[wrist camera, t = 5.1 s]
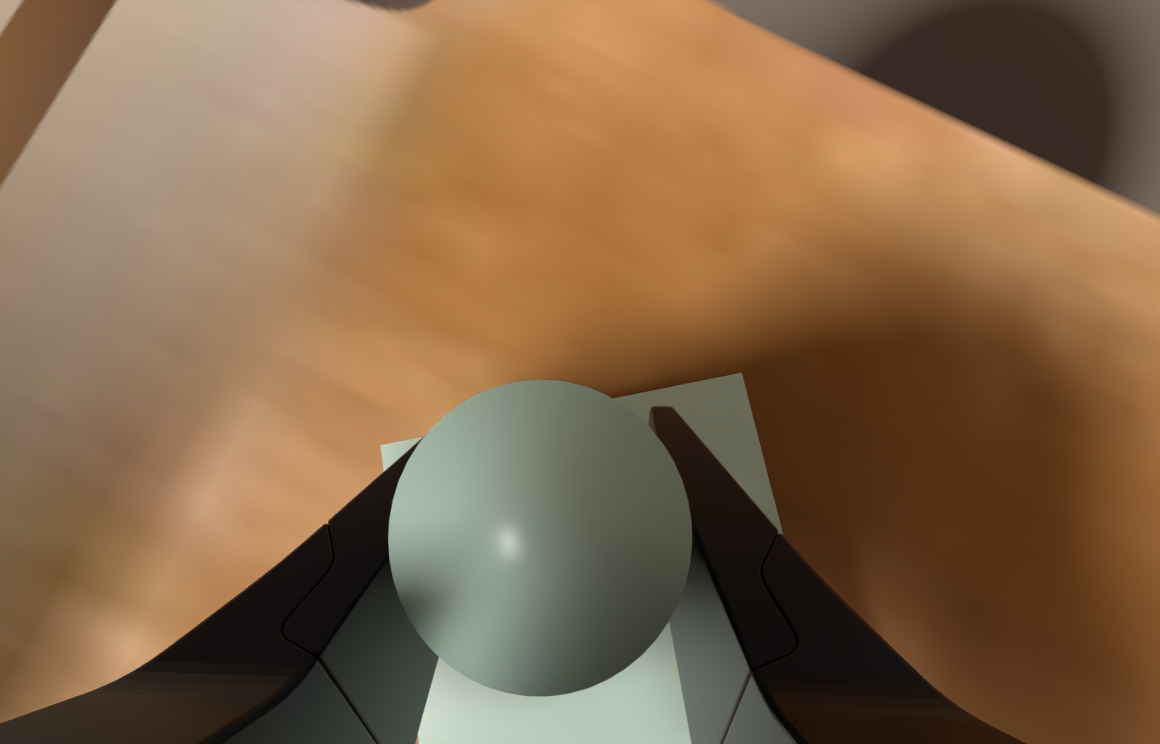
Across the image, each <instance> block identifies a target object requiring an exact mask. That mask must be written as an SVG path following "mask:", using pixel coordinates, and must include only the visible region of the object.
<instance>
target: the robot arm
mask: <svg viewBox="0 0 1160 744" xmlns="http://www.w3.org/2000/svg"><path fill="white" fill-rule="evenodd" d="M648 426H649V427H650V428H651V429H652V431H653V432H654V433H655V434H656V436H657V437H658V438H659V439H660V441H661V442H662V443H663V444H664V446H665V448H666V449H667V451H668V453H669V454H670V456H671V458H672V459H673V461H674V463H675V465H676V467H677V470H678V472H679V474H680V477H681V479H682V481H683V485H684V488H685V491H686V495H687V498H688V503H689V509H690V515H691V522H692V549H691V560H690V566H689V571H688V575H687V579H686V584H685V587H684V589H683V592H682V595H681V597H680V600H679V603H678V605H677V607H676V609H675V611H674V613H673V615H672V617H671V618H670V620H669V622H670V628H671V634H672V639H673V645H674V650H675V656H676V661H677V667H678V672H679V678H680V683H681V689H682V694H683V700H684V705H685V711H686V716H687V722H688V727H689V733H690V738H691V744H1026V743H1024V742H1022V741H1020V740H1018V739H1016V738H1014V737H1012V736H1010V735H1008V734H1006V733H1004V732H1002V731H1000V730H998V729H996V728H994V727H992V726H990V725H988V724H987V723H985V722H983V721H981V720H979V719H977V718H976V717H974V716H973V715H971V714H969V713H968V712H966V711H965V710H963V709H962V708H960V707H959V706H958V705H956V704H955V703H953V702H952V701H951V700H949V699H948V698H947V697H946V696H944V695H943V694H942V693H941V692H939V691H938V690H937V689H936V688H934V687H933V686H932V685H931V684H930V683H929V682H928V681H927V680H926V679H924V678H923V677H922V676H921V675H920V674H919V673H918V672H917V671H916V670H915V669H914V668H913V667H912V666H911V665H910V664H909V663H908V662H907V661H906V660H904V659H903V658H902V657H901V656H900V655H899V654H898V653H897V652H896V651H895V650H894V649H893V648H892V647H891V646H890V645H889V644H888V643H887V642H886V641H885V640H884V639H883V638H882V637H881V636H880V635H879V634H877V633H876V632H875V631H874V630H873V629H872V628H871V627H870V626H869V625H868V624H867V623H866V622H865V621H864V620H863V619H862V618H861V617H860V616H859V615H858V614H857V613H856V612H855V611H854V610H853V609H852V608H851V607H849V606H848V605H847V604H846V603H845V602H844V601H843V600H842V599H841V598H840V597H839V596H838V595H837V594H836V593H835V592H834V591H833V590H832V589H831V587H830V586H829V585H828V584H827V583H826V582H825V581H824V580H823V579H822V578H821V577H820V576H819V575H818V574H817V573H816V572H815V571H814V570H813V569H812V568H811V567H810V565H809V564H808V563H807V562H806V561H805V560H804V559H803V558H802V557H801V555H800V554H799V553H798V552H797V551H796V550H795V549H794V548H793V546H792V545H791V544H790V543H789V542H788V541H787V539H786V538H785V537H784V536H783V535H782V534H781V533H779V534H778V529H777V528H776V527H775V526H774V524H773V523H772V522H771V521H770V520H769V519H768V517H767V516H766V515H765V514H764V513H763V512H762V510H761V509H760V508H759V507H758V506H757V505H756V503H755V502H754V501H753V500H752V499H751V498H750V496H749V495H748V494H747V493H746V492H745V491H744V489H743V488H742V487H741V486H740V485H739V484H738V483H737V481H736V480H735V479H734V478H733V477H732V476H731V474H730V473H729V472H728V471H727V470H726V469H725V467H724V466H723V465H722V464H721V463H720V462H719V460H718V459H717V458H716V457H715V456H714V455H713V453H712V452H711V451H710V450H709V449H708V448H707V446H706V445H705V444H704V443H703V442H702V441H701V439H700V438H699V437H698V436H697V435H696V434H695V432H694V431H693V430H692V429H691V428H690V427H689V425H688V424H687V423H686V422H685V421H684V420H683V418H682V417H681V416H680V415H679V414H678V413H677V411H676V410H675V409H674V408H673V407H671V406H653V407H651V409H650V413H649V425H648ZM424 437H425V436H424ZM424 437H423V438H424ZM423 438H421V439H420V440H419V441H418V442H417V443H416V444H415V445H414V446H412V447H411V448H410V449H409V450H408V451H407V452H406V453H404V454H403V455H402V456H401V457H400V458H399V459H398V460H397V461H395V462H394V463H393V464H392V465H391V466H390V467H389V468H387V469H386V470H385V471H384V472H383V473H382V474H381V475H380V476H378V477H377V478H376V479H375V480H374V481H373V482H372V483H370V484H369V485H368V486H367V487H366V488H365V489H364V490H363V491H361V492H360V493H359V494H358V495H357V496H356V497H355V498H354V499H352V500H351V501H350V502H349V503H348V504H347V505H346V506H344V507H343V508H342V509H341V510H340V511H339V512H338V513H337V514H335V515H334V516H333V517H332V518H331V519H330V520H329V521H328V524H329V525H328V524H324V525H323V526H322V527H320V528H319V529H318V530H317V531H316V532H315V533H314V534H312V535H311V536H310V537H309V538H308V539H307V540H306V541H304V542H303V543H302V544H301V545H300V546H299V547H297V548H296V549H295V550H294V551H293V552H291V553H290V554H289V555H288V556H287V557H286V558H284V559H283V560H282V561H281V562H280V563H278V564H277V565H276V566H275V567H273V568H272V569H271V570H269V571H268V572H267V573H266V574H264V575H263V576H262V577H260V578H259V579H258V580H257V581H255V582H254V583H253V584H252V585H250V586H249V587H248V588H246V589H245V590H244V591H242V592H241V593H240V594H238V595H237V596H236V597H234V598H233V599H232V600H230V601H229V602H228V603H227V604H225V605H224V606H223V607H221V608H220V609H219V610H217V611H216V612H215V613H213V614H212V615H211V616H209V617H208V618H207V619H205V620H204V621H203V622H201V623H200V624H199V625H197V626H196V627H195V628H193V629H192V630H191V631H189V632H188V633H187V634H185V635H184V636H183V637H181V638H180V639H179V640H177V641H176V642H175V643H174V644H172V645H171V646H170V647H168V648H167V649H166V650H164V651H163V652H161V653H160V654H159V655H157V656H156V657H154V658H153V659H152V660H150V661H149V662H147V663H145V664H144V665H142V666H141V667H139V668H137V669H136V670H134V671H133V672H131V673H129V674H127V675H125V676H123V677H121V678H120V679H118V680H116V681H114V682H111V683H109V684H107V685H105V686H103V687H100V688H98V689H95V690H93V691H90V692H88V693H85V694H82V695H79V696H77V697H74V698H71V699H68V700H65V701H62V702H60V703H57V704H54V705H51V706H48V707H46V708H43V709H40V710H37V711H34V712H31V713H29V714H26V715H23V716H20V717H17V718H14V719H12V720H9V721H6V722H3V723H0V744H415V742H416V738H417V735H418V731H419V727H420V724H421V720H422V716H423V713H424V709H425V706H426V702H427V698H428V695H429V691H430V688H431V684H432V680H433V677H434V673H435V670H436V666H437V662H438V659H439V656H437V655H436V654H435V653H434V652H433V651H432V650H431V648H430V647H429V646H428V645H427V644H426V643H425V641H424V640H423V639H422V638H421V637H420V635H419V634H418V632H417V631H416V629H415V628H414V626H413V625H412V623H411V622H410V620H409V618H408V616H407V614H406V612H405V610H404V608H403V606H402V604H401V602H400V599H399V596H398V593H397V590H396V587H395V584H394V581H393V576H392V571H391V565H390V560H389V544H388V534H389V519H390V513H391V508H392V503H393V498H394V495H395V492H396V489H397V485H398V482H399V479H400V477H401V475H402V473H403V471H404V468H405V466H406V464H407V462H408V460H409V459H410V457H411V455H412V454H413V452H414V450H415V449H416V447H417V446H418V444H419V443H420V442H421V440H422V439H423Z"/></svg>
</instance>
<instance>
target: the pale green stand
mask: <svg viewBox="0 0 1160 744" xmlns="http://www.w3.org/2000/svg"><path fill="white" fill-rule="evenodd" d="M653 406H671V407H673V408H674V409H675V410H676V411H677V413H678V414H679V415H680V416H681V417H682V418H683V420H684V421H685V422H686V423H687V424H688V425H689V427H690V428H691V429H692V430H693V431H694V432H695V434H696V435H697V436H698V437H699V438H700V439H701V441H702V442H703V443H704V444H705V445H706V446H707V448H708V449H709V450H710V451H711V452H712V453H713V455H714V456H715V457H716V458H717V459H718V460H719V462H720V463H721V464H722V465H723V466H724V467H725V469H726V470H727V471H728V472H729V473H730V474H731V476H732V477H733V478H734V479H735V480H736V481H737V483H738V484H739V485H740V486H741V487H742V488H743V489H744V491H745V492H746V493H747V494H748V495H749V496H750V498H751V499H752V500H753V501H754V502H755V503H756V505H757V506H758V507H759V508H760V509H761V510H762V512H763V513H764V514H765V515H766V516H767V517H768V519H769V520H770V521H771V522H772V523H773V524H774V526H775V527H776V528H777V529H778V534H779V533H781V534H782V535H783V532H782V528H781V524H780V520H779V516H778V512H777V509H776V505H775V501H774V497H773V493H772V489H771V485H770V481H769V477H768V473H767V469H766V466H765V462H764V458H763V454H762V450H761V446H760V442H759V438H758V434H757V430H756V427H755V423H754V419H753V415H752V411H751V407H750V403H749V399H748V395H747V391H746V388H745V384H744V380H743V376H742V373H737V374H732V375H727V376H722V377H717V378H712V379H707V380H702V381H697V382H692V383H687V384H682V385H677V386H672V387H668V388H663V389H658V390H653V391H648V392H643V393H638V394H633V395H628V396H623V397H618V398H611V397H609V396H607V395H606V394H603V393H601V392H598V391H596V390H593V389H591V388H589V387H585V386H582V385H578V384H574V383H570V382H564V381H556V380H527V381H519V382H512V383H508V384H505V385H501V386H497V387H494V388H491V389H489V390H487V391H484V392H482V393H479V394H477V395H475V396H473V397H471V398H470V399H468V400H466V401H464V402H463V403H461V404H459V405H458V406H457V407H455V408H454V409H453V410H451V411H450V412H449V413H447V414H446V415H445V416H444V417H443V418H442V419H441V420H439V421H438V422H437V423H436V424H435V425H434V426H433V427H432V428H431V429H430V430H429V432H428V433H427V434H426V435H425V437H424V438H423V437H419V438H414V439H409V440H404V441H399V442H394V443H389V444H384V445H381V453H382V460H383V468H384V471H385V470H386V469H387V468H389V467H390V466H391V465H392V464H393V463H394V462H395V461H397V460H398V459H399V458H400V457H401V456H402V455H403V454H404V453H406V452H407V451H408V450H409V449H410V448H411V447H412V446H414V445H415V444H416V443H417V442H418V441H419V440H420V439H421V438H423V439H422V440H421V442H420V443H419V444H418V446H417V447H416V449H415V450H414V452H413V454H412V455H411V457H410V459H409V460H408V462H407V464H406V466H405V468H404V471H403V473H402V475H401V477H400V479H399V482H398V485H397V489H396V492H395V495H394V498H393V503H392V508H391V513H390V519H389V534H388V544H389V560H390V565H391V571H392V576H393V581H394V584H395V587H396V590H397V593H398V596H399V599H400V602H401V604H402V606H403V608H404V610H405V612H406V614H407V616H408V618H409V620H410V622H411V623H412V625H413V626H414V628H415V629H416V631H417V632H418V634H419V635H420V637H421V638H422V639H423V640H424V641H425V643H426V644H427V645H428V646H429V647H430V648H431V650H432V651H433V652H434V653H435V654H436V655H437V656H439V659H438V662H437V666H436V670H435V673H434V677H433V680H432V684H431V688H430V691H429V695H428V698H427V702H426V706H425V709H424V713H423V716H422V720H421V724H420V727H419V731H418V739H419V744H691V738H690V733H689V727H688V722H687V716H686V711H685V705H684V700H683V694H682V689H681V683H680V678H679V672H678V667H677V661H676V656H675V650H674V645H673V639H672V634H671V628H670V622H669V620H670V618H671V617H672V615H673V613H674V611H675V609H676V607H677V605H678V603H679V600H680V597H681V595H682V592H683V589H684V587H685V584H686V579H687V575H688V571H689V566H690V560H691V549H692V522H691V515H690V509H689V503H688V498H687V495H686V491H685V488H684V485H683V481H682V479H681V477H680V474H679V472H678V470H677V467H676V465H675V463H674V461H673V459H672V458H671V456H670V454H669V453H668V451H667V449H666V448H665V446H664V444H663V443H662V442H661V441H660V439H659V438H658V437H657V436H656V434H655V433H654V432H653V431H652V429H651V428H650V427H649V426H648V425H649V413H650V409H651V407H653Z"/></svg>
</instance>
